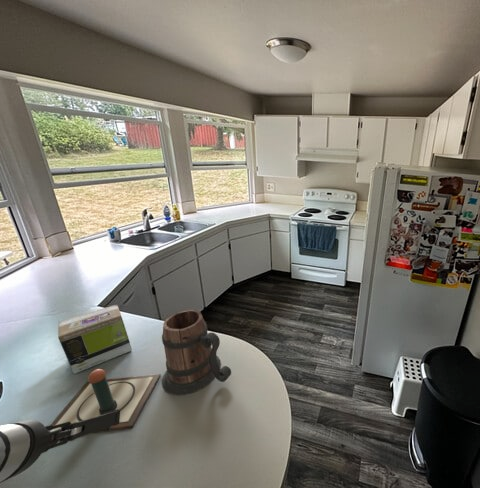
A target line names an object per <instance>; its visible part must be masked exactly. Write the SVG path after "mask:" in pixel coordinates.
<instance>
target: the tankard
mask: <svg viewBox="0 0 480 488" xmlns="http://www.w3.org/2000/svg"><path fill="white" fill-rule="evenodd" d="M207 324H208V323H207V322H206V321H205V319H204V317H203V314H202V312H201V311H200V310H197V309H187V310H183V311H178V312H176V313H173V314H172V315H170V316H169V317H167V318H165V320H164V322H163V324H162V325H163V326H162V334H161V343H162V344H163V348H164V353H165V367H166V371H165V372H164V373H163V376H162V379H161V386H162V389H163V390H164V391H165V392H166V393H168V394H170V395H174V396H186V395H190V394H193V393H195V392H199V391H200V390H202V389H204V388H205V387H207V386H209V385H210V384H211V383H212V382H213V381H214V380H215V379H216V380H217V381H219V382H222V383H224V382H226V381H227V380H228V379H229V378H230V376H231V375H232V369H231V368H230V367H229V365H228V366H227V365H223V366H222V362H221V359H220V358H219V356H218V355H217V351H218V350H219V347H220V344H221V341H220V338H219V335H217V333H215V332H209V331H208V325H207Z"/></svg>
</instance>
